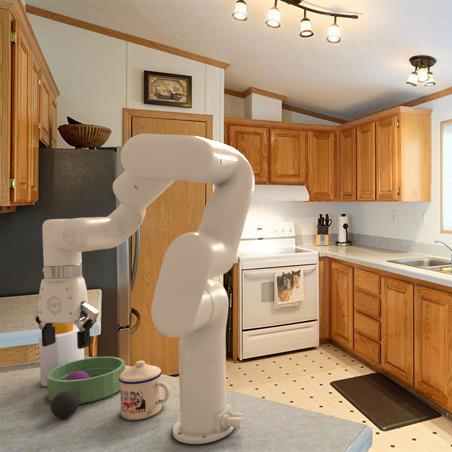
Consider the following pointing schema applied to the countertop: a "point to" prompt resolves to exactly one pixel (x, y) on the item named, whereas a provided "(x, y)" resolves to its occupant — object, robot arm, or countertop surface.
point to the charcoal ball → (64, 404)
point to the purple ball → (78, 375)
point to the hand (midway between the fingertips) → (66, 345)
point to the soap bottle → (59, 350)
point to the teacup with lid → (141, 391)
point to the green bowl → (90, 387)
